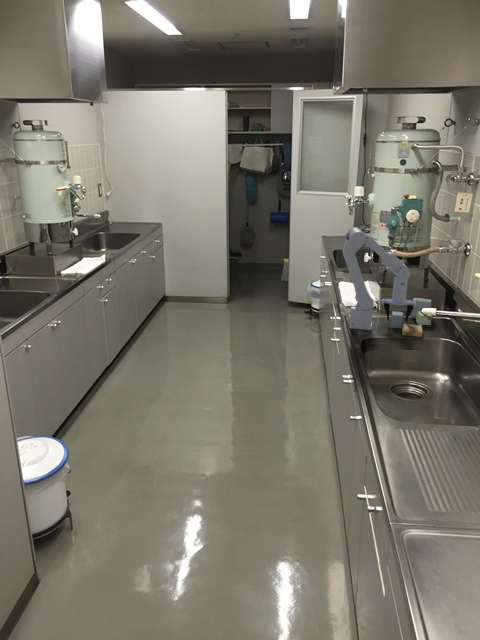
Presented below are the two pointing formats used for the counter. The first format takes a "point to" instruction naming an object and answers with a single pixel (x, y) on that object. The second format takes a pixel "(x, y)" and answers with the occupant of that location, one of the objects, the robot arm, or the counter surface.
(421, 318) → the green block
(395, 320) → the blue block
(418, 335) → the oak block
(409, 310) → the robot arm
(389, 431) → the counter surface
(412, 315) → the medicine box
